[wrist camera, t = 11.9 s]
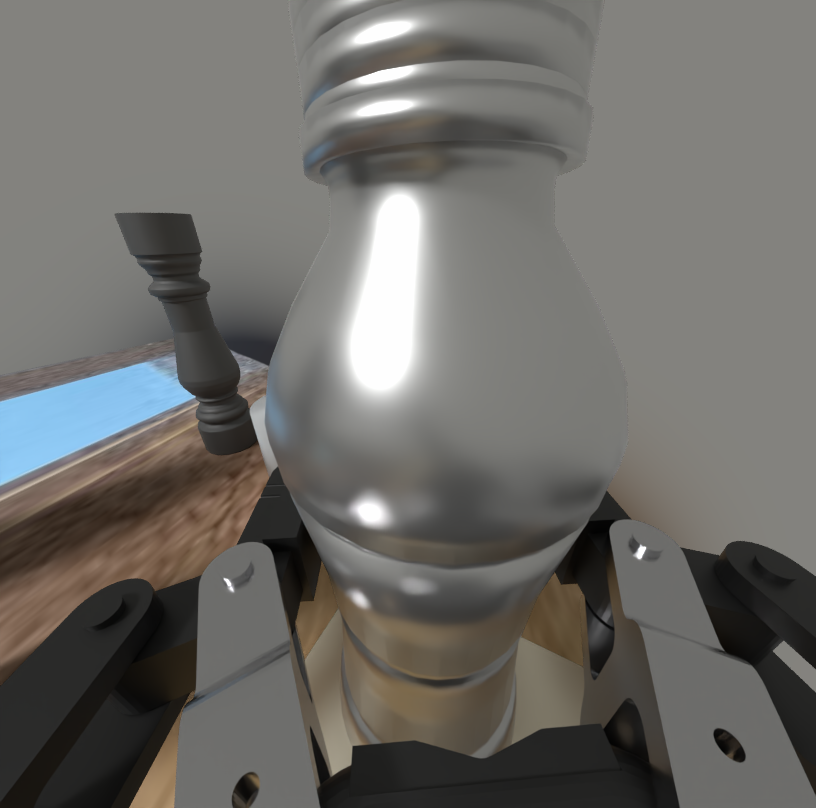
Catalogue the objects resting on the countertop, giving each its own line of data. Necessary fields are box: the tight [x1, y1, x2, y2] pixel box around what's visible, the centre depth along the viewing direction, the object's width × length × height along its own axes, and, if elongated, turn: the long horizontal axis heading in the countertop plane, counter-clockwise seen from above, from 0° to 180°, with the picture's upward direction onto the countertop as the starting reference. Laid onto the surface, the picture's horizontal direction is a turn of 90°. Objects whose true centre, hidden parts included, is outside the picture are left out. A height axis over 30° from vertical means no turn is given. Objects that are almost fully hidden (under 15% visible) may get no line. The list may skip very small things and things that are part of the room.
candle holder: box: [115, 213, 257, 455], centre depth 34 cm, size 6×6×25 cm
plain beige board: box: [305, 608, 584, 775], centre depth 16 cm, size 15×13×1 cm
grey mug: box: [250, 396, 278, 478], centre depth 32 cm, size 8×7×9 cm
